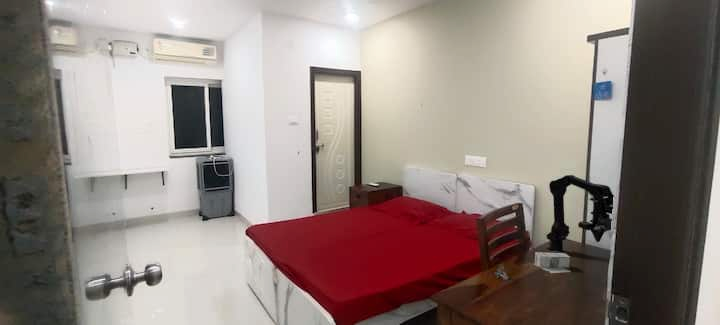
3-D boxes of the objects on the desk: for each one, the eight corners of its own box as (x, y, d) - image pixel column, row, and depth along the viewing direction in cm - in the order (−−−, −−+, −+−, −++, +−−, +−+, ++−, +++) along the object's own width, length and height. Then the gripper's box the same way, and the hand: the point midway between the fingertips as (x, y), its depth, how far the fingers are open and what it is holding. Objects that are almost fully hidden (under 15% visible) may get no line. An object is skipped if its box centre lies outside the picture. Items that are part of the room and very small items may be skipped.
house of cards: (481, 277, 163) (482, 261, 162) (496, 274, 166) (497, 258, 165) (494, 285, 154) (495, 268, 154) (510, 282, 157) (511, 266, 156)
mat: (533, 264, 177) (533, 263, 177) (553, 262, 179) (553, 261, 179) (550, 274, 166) (550, 273, 165) (571, 272, 168) (571, 271, 167)
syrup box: (565, 252, 176) (534, 251, 177) (570, 257, 170) (539, 256, 172) (564, 263, 176) (534, 262, 178) (570, 268, 171) (538, 267, 172)
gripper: (597, 216, 163) (595, 248, 165) (631, 214, 167) (628, 246, 168) (578, 210, 174) (576, 241, 176) (610, 208, 178) (608, 238, 179)
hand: (597, 241), depth 174 cm, fingers closed
